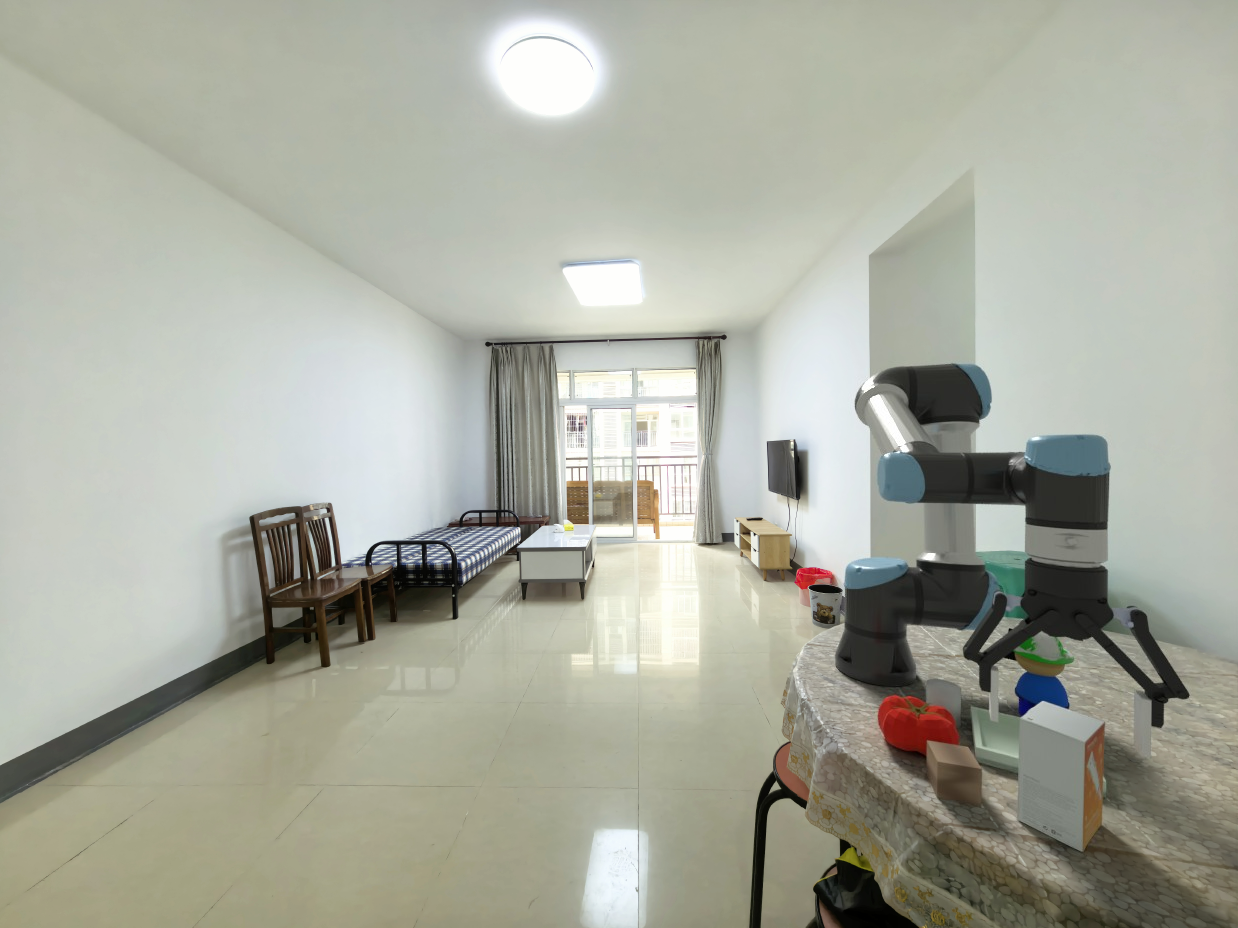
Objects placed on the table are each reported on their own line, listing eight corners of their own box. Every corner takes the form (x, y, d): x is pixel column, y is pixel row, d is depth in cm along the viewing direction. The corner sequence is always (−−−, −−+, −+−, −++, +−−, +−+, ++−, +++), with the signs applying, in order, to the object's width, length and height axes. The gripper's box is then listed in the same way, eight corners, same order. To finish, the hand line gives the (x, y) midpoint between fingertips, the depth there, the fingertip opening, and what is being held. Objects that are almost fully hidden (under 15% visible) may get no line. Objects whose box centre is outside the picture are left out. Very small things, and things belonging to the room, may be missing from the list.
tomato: (961, 775, 70) (961, 730, 69) (874, 751, 75) (875, 709, 75) (957, 741, 78) (957, 700, 78) (879, 721, 84) (879, 683, 83)
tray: (975, 761, 73) (975, 746, 72) (970, 718, 84) (970, 705, 84) (1106, 797, 65) (1106, 781, 65) (1080, 744, 77) (1080, 731, 76)
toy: (1056, 705, 88) (1057, 623, 88) (1085, 733, 80) (1087, 642, 79) (997, 697, 91) (998, 618, 91) (1019, 723, 83) (1020, 636, 82)
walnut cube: (937, 798, 65) (937, 761, 65) (926, 774, 70) (926, 740, 70) (981, 806, 64) (981, 768, 63) (967, 781, 68) (967, 746, 68)
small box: (1084, 854, 56) (1086, 742, 55) (1015, 819, 61) (1017, 717, 61) (1104, 824, 60) (1106, 720, 60) (1039, 794, 66) (1040, 698, 65)
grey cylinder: (925, 722, 83) (925, 687, 83) (926, 709, 87) (926, 676, 87) (961, 731, 80) (961, 695, 80) (960, 717, 85) (960, 683, 84)
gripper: (942, 554, 64) (941, 716, 64) (1235, 580, 50) (1233, 787, 50) (942, 546, 70) (941, 693, 70) (1202, 567, 56) (1200, 750, 56)
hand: (1063, 733), depth 60 cm, fingers open, 13 cm apart
